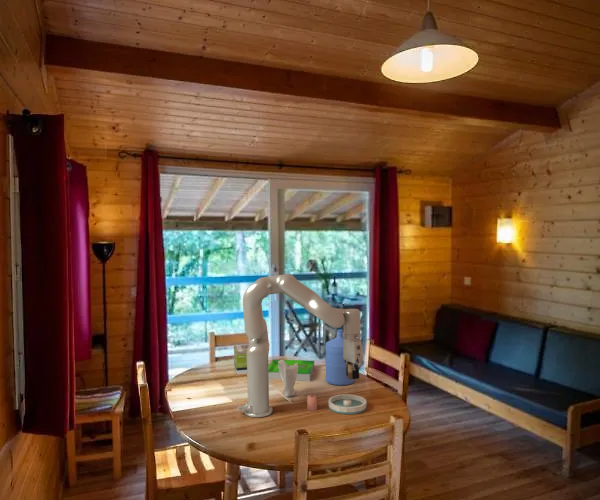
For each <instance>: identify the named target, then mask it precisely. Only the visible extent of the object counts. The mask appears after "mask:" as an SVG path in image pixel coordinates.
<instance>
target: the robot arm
mask: <svg viewBox="0 0 600 500" xmlns="http://www.w3.org/2000/svg"><path fill="white" fill-rule="evenodd" d="M276 294H284V295H285V297H286V296H287V298H289V299H290V300H292V301H294V302H295V303H296V304H298V305H300V306H301V307H302V308H304V309H305V310H306V311H307V312H310V313H311V314H312V315H314V316H315V317H316V318H317V319H319V320H320V321H321V322H324V324H326V325H327V326H329V327H330V328H333V329H341V328H342V327H343V338H344V344H343V359H344V361H345V363H346V376H348V364H350V363H352V364H353V370H352V378H353V379H355V380H357V379H359V378H360V370H361V369H360V368H361V367H362V366H363V363H364V351H363V343H362V340H361V339H362V333H361V327H362V326H361V311H360V310H359V309H358V308H346V309H345V308H337V307H332V305H330V304H328V303H327V302H326V301H325V300H324V299H322V298H321V296H320V295H319V294H317V293H316V292H315V291H314V290H312V289H311V288H310V287H308V286H306V285H305V284H304V283H302V282H301V281H299V280H298V279H297V278H296V277H295V276H294V275H293V274H290V273H284V274H278V275H272V276H271V275H270V276H264V277H259V278H258V279H256V280H255V281H254V282H253V283H251V284H250V285H249V286H248V287H247V288H246V290H245V292H244V294H243V297H242V311H243V320H244V321H243V323H244V332H245V334H246V337H247V339H248V340H247V341H248V344H249V347H248V350H247V356H246V358H247V376H246V379H247V401H246V402H245V404H243V405H238V406H237V407H236V409H237V411H242V412H244V415H246V416H247V417H251V418H262V417H267V416H270V415H271V414H272V413H273V412H274V411H273V407H271V406H270V391H269V390H270V380H269V370H268V366H269V353H270V340H269V332H268V331H269V330H268V325H267V321H266V319H265V317H264V313H263V304H262V303H263V300H264V299H265V298H267V297H268V296H270V295H276ZM355 364H357V365H356V366H355Z"/></svg>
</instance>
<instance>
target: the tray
mask: <svg viewBox="0 0 600 500" xmlns="http://www.w3.org/2000/svg"><path fill="white" fill-rule="evenodd" d="M279 360H280V359H273V360H272V361H271V362H270V363H269V364H268V370H269V379H281V376H280V373H279V368H278V365H279V364H278V361H279ZM283 360H284V361H285V363H286V364H287V365H294V364H295V363H298V372H297V377H296V380H298V381H297V382H311V379H312V376H313V374H312V373H314V371H313V370H315V360H300V359H298V360H297V359H296V360H295V359H283ZM288 367H289V366H288Z"/></svg>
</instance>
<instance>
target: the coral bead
mask: <svg viewBox="0 0 600 500" xmlns="http://www.w3.org/2000/svg"><path fill="white" fill-rule="evenodd" d="M317 400H318V397H317V395H316V394H308V395H307V396H306V403H307V404H306V406H307V411H308V412H316V411H317V409H318V401H317Z"/></svg>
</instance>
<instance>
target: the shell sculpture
mask: <svg viewBox="0 0 600 500" xmlns="http://www.w3.org/2000/svg"><path fill="white" fill-rule="evenodd" d="M278 360H279V361H278V364H279V365H278V368H279V373H280V376H281V379H282V383H283V390H282V393H281V394H282V396H284V397H287V398H290V397H293V396H295V394H296V391H295V386H296V385H295V384H296V382H297V381H296V377H297V372H298V363H295V364H294V365H287V364H286V363H285V361H284V360H285V359H278ZM288 366H289V367H288Z"/></svg>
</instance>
